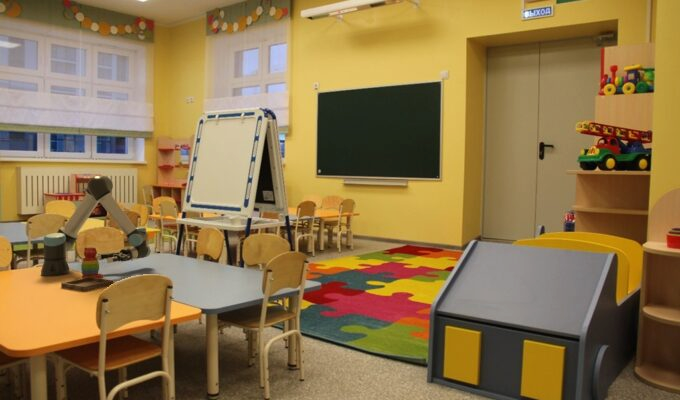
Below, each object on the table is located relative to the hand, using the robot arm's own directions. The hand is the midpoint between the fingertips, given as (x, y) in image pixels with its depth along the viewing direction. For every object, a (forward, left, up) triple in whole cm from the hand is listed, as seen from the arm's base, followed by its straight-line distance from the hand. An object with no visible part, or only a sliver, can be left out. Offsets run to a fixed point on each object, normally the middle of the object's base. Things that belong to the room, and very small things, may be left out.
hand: (99, 259), depth 321 cm
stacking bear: (-1, -5, -10) cm, 11 cm away
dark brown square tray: (+15, -20, -10) cm, 27 cm away
